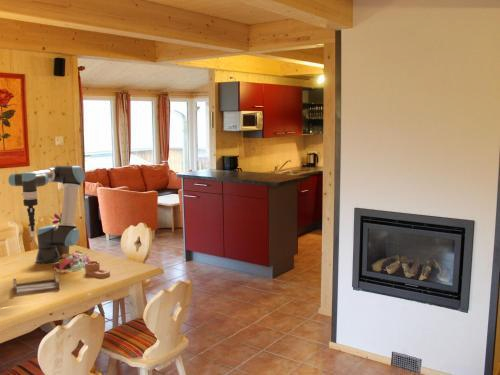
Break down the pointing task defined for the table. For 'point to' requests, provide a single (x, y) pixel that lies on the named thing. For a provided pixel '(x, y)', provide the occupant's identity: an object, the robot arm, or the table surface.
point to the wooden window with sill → (36, 286)
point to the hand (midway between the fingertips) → (32, 234)
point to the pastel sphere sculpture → (71, 262)
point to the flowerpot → (61, 248)
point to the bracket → (96, 270)
